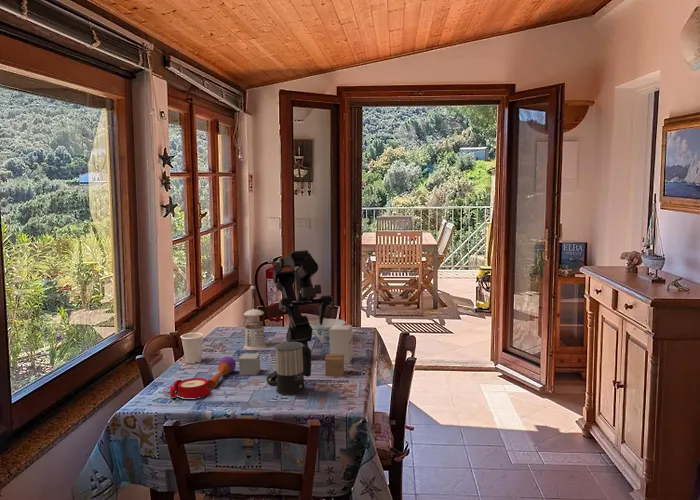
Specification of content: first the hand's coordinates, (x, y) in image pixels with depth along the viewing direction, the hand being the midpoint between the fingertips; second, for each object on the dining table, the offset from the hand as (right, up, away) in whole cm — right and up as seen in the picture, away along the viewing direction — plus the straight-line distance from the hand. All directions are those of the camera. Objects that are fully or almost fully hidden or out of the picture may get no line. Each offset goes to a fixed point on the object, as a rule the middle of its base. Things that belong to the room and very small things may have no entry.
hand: (308, 326), depth 215 cm
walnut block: (+9, -16, -3) cm, 19 cm away
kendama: (-29, -18, -6) cm, 35 cm away
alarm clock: (-37, -20, -21) cm, 47 cm away
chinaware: (+5, -11, +40) cm, 42 cm away
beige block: (-21, -17, 0) cm, 26 cm away
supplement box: (+12, -14, +12) cm, 22 cm away
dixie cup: (-44, -15, +16) cm, 50 cm away
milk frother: (-7, -18, -16) cm, 25 cm away
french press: (-25, -13, +34) cm, 44 cm away
